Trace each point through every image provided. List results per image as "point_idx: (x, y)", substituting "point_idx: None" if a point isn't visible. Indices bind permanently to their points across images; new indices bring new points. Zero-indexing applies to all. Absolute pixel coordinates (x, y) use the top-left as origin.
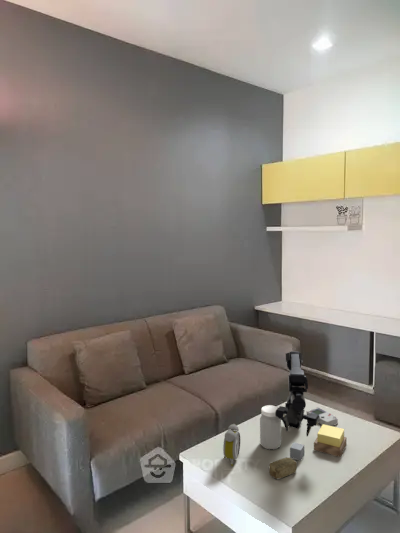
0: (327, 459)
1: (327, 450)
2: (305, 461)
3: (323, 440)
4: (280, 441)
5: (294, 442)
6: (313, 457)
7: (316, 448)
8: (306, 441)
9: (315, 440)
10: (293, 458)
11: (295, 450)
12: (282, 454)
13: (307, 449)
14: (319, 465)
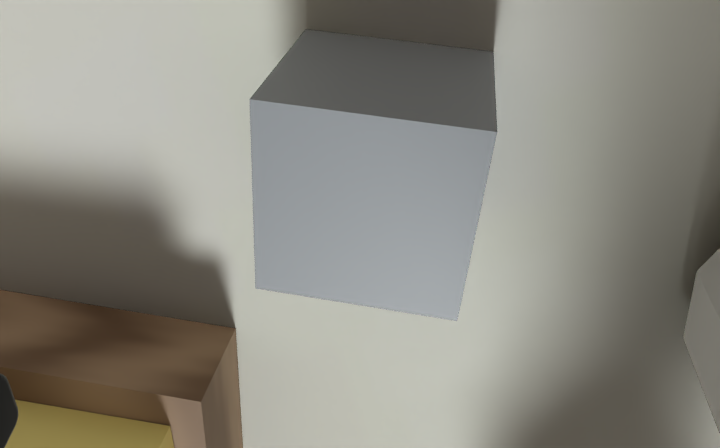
0: (19, 193)
1: (56, 328)
2: (236, 40)
3: (71, 445)
4: (705, 339)
5: (440, 312)
6: (177, 178)
7: (193, 341)
8: (361, 443)
9: (202, 443)
10: (430, 45)
11: (374, 100)
12: (634, 95)
13: (305, 316)
14: (28, 17)
